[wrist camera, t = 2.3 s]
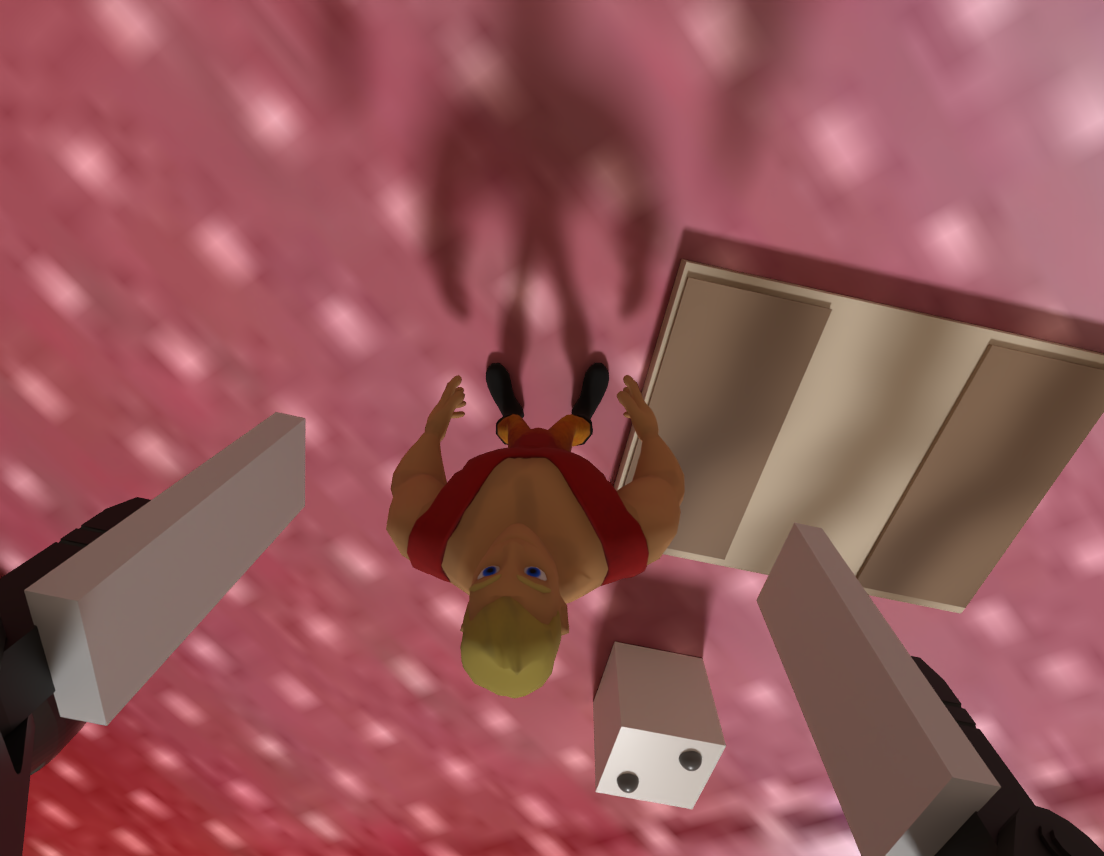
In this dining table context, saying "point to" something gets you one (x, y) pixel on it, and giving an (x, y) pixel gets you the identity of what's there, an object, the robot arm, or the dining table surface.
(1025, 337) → the board
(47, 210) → the dining table surface
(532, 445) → the action figure
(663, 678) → the die
